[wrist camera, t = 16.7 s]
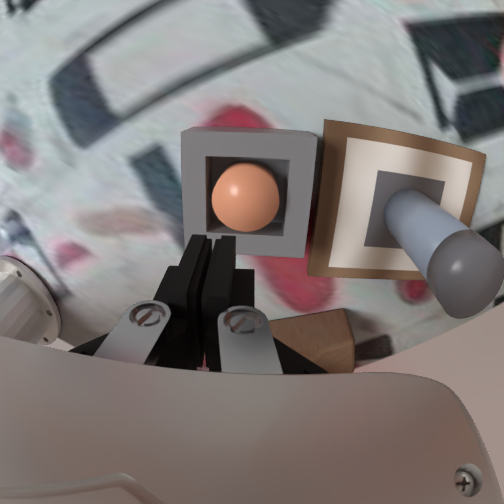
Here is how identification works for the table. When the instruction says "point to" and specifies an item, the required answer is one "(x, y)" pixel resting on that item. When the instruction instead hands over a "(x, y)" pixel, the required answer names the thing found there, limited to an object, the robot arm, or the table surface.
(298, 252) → the button housing
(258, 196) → the button
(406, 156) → the picture frame
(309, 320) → the wooden block
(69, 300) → the table surface
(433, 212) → the grey capped shaker
